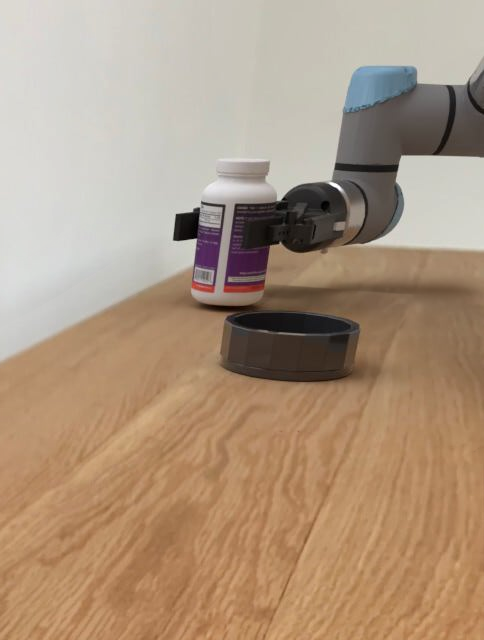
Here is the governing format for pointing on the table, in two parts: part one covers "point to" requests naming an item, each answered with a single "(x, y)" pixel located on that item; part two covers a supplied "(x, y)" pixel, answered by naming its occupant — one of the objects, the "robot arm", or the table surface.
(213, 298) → the pill bottle
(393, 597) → the table surface
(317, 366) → the ring
